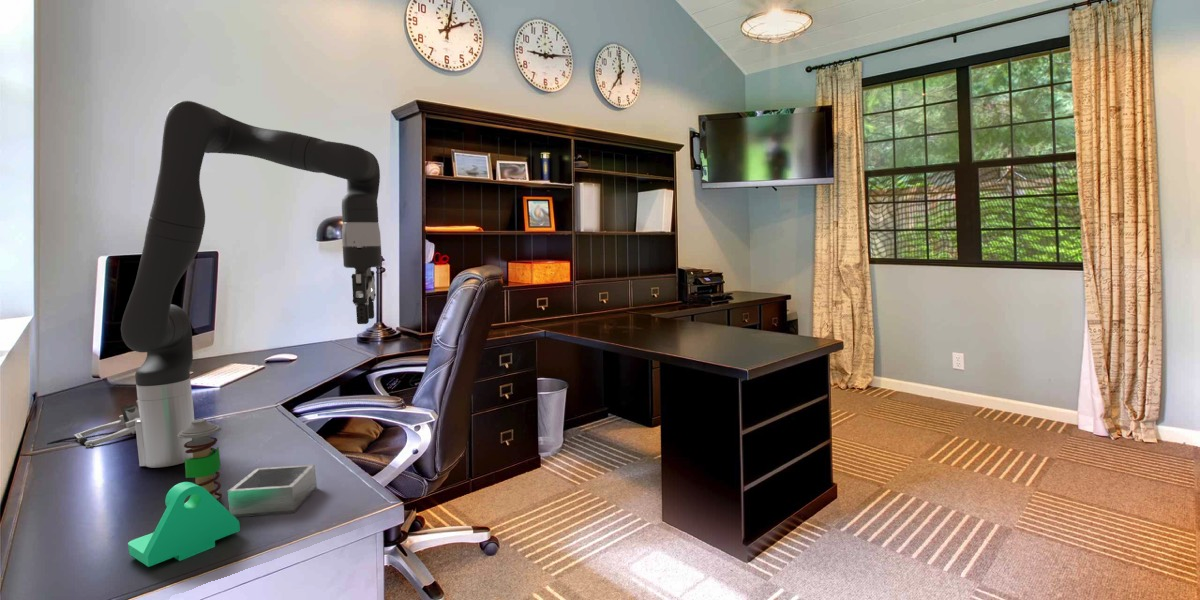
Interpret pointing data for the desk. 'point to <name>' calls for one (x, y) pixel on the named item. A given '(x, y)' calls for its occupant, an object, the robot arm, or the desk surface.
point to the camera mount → (185, 526)
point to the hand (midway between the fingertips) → (366, 321)
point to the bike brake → (127, 418)
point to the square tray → (272, 491)
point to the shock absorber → (202, 455)
